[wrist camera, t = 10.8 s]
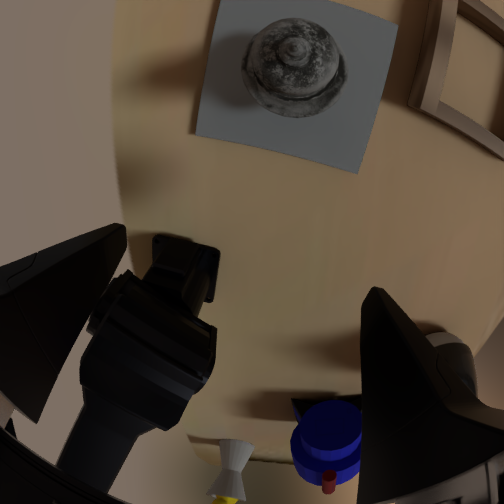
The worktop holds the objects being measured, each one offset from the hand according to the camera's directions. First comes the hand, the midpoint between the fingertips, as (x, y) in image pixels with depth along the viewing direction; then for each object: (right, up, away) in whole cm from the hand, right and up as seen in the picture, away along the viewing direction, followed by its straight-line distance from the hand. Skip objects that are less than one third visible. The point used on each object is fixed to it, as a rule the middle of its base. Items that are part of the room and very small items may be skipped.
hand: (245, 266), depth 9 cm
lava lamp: (-3, -46, +47) cm, 66 cm away
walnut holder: (+18, +14, +3) cm, 23 cm away
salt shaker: (+3, +12, +6) cm, 14 cm away
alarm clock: (+13, -24, +30) cm, 41 cm away
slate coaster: (+3, +13, +7) cm, 15 cm away
